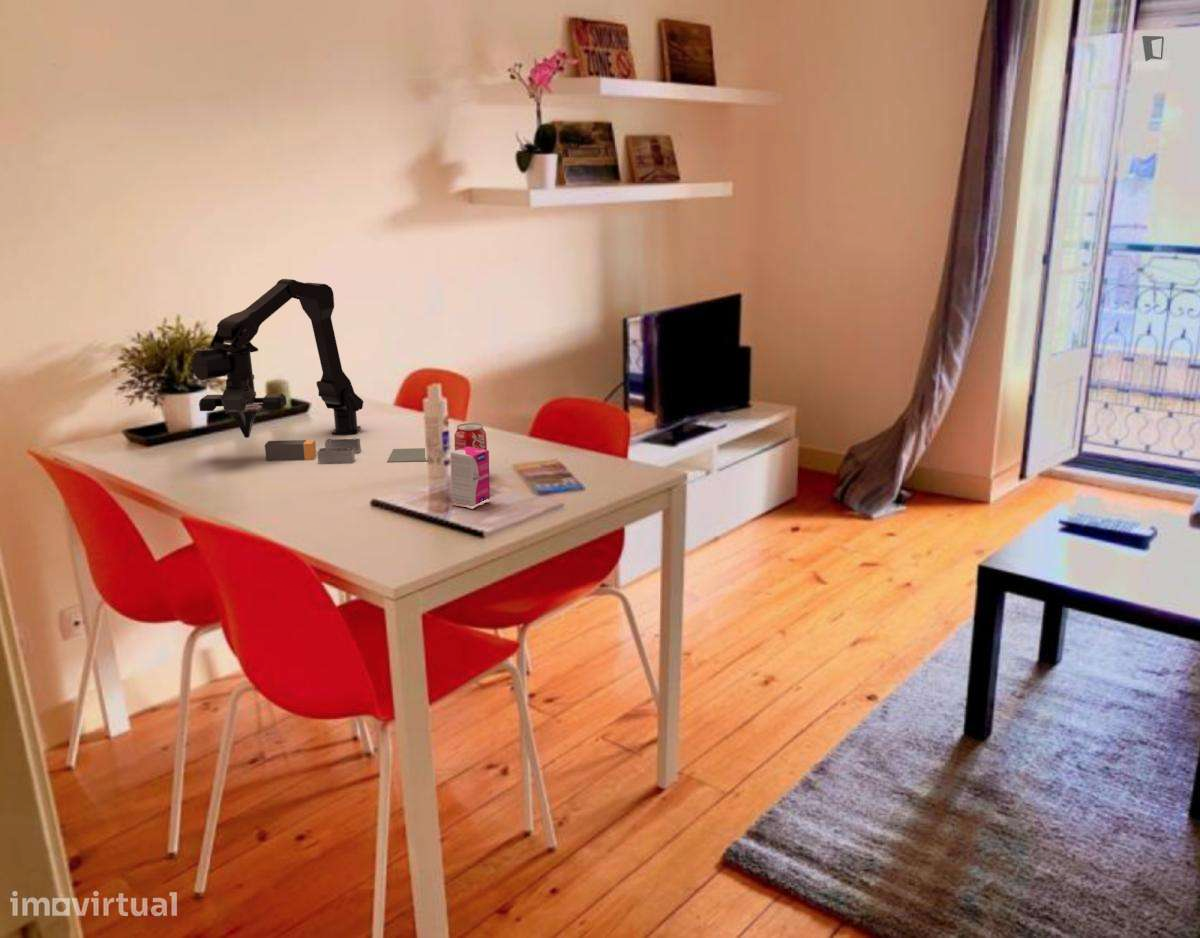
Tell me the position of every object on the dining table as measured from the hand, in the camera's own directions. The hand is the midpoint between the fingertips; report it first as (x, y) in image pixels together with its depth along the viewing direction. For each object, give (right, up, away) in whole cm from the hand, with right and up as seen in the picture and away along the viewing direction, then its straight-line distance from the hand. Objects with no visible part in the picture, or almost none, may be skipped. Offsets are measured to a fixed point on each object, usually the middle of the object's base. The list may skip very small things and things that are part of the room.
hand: (247, 437), depth 230 cm
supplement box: (+58, -15, -31) cm, 67 cm away
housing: (+21, -5, +3) cm, 22 cm away
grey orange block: (+10, -5, +2) cm, 11 cm away
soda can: (+56, -10, -14) cm, 58 cm away
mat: (+39, -4, +4) cm, 39 cm away
